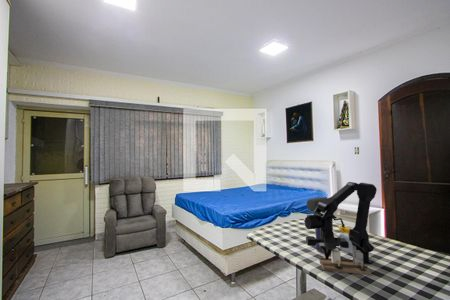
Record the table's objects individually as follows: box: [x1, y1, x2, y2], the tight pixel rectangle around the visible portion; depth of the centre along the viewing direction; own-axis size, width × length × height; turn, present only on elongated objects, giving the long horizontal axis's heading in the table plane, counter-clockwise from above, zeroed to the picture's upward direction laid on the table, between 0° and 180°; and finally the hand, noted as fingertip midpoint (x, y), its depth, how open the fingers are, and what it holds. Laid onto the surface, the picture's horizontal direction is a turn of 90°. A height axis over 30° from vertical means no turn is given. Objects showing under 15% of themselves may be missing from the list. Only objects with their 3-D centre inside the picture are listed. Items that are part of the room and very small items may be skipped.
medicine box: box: [339, 232, 356, 255], centre depth 121 cm, size 8×4×9 cm, turn 27°
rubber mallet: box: [306, 196, 328, 252], centre depth 122 cm, size 12×8×30 cm, turn 116°
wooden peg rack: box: [318, 250, 372, 275], centre depth 104 cm, size 9×20×7 cm, turn 80°
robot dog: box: [333, 217, 352, 234], centre depth 134 cm, size 6×18×13 cm, turn 29°
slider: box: [330, 248, 341, 267], centre depth 105 cm, size 7×3×6 cm, turn 170°
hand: (326, 259), depth 107 cm, fingers closed
